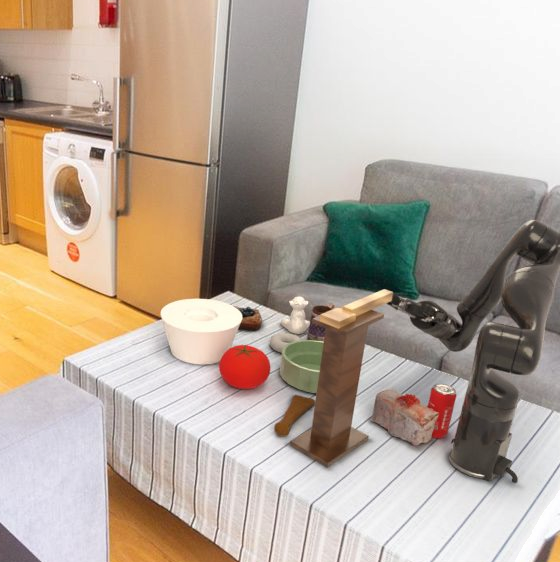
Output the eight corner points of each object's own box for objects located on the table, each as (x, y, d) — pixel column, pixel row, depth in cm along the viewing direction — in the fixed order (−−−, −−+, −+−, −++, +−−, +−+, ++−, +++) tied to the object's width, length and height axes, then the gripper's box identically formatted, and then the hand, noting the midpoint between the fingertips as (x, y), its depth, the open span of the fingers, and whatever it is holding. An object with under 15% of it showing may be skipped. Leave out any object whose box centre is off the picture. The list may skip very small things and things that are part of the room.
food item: (438, 441, 136) (446, 405, 132) (417, 453, 132) (425, 416, 128) (386, 413, 147) (392, 378, 143) (365, 423, 143) (371, 388, 139)
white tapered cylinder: (143, 349, 178) (143, 313, 174) (196, 326, 193) (197, 292, 189) (203, 379, 162) (205, 340, 157) (255, 351, 177) (259, 315, 172)
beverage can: (445, 442, 136) (456, 397, 131) (420, 434, 138) (430, 391, 134) (447, 430, 140) (458, 387, 135) (423, 424, 142) (433, 381, 138)
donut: (296, 359, 173) (307, 345, 180) (298, 349, 171) (308, 335, 179) (264, 350, 178) (275, 337, 185) (265, 340, 176) (276, 328, 184)
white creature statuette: (309, 325, 194) (314, 291, 190) (313, 336, 186) (317, 302, 182) (280, 323, 195) (283, 290, 191) (282, 334, 187) (286, 300, 183)
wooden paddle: (377, 296, 134) (379, 287, 133) (396, 302, 130) (398, 293, 130) (319, 321, 121) (320, 311, 120) (338, 328, 118) (339, 318, 117)
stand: (368, 440, 136) (391, 314, 124) (327, 467, 127) (347, 335, 115) (331, 420, 144) (349, 300, 132) (289, 445, 135) (305, 318, 123)
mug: (322, 351, 177) (327, 314, 173) (301, 343, 182) (306, 307, 178) (339, 340, 184) (344, 305, 179) (319, 333, 188) (323, 298, 184)
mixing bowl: (363, 380, 161) (367, 358, 158) (322, 403, 151) (326, 379, 148) (306, 355, 175) (309, 334, 172) (265, 374, 164) (268, 352, 162)
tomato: (244, 366, 168) (246, 333, 165) (278, 385, 159) (282, 351, 155) (207, 381, 161) (209, 347, 157) (241, 402, 151) (244, 366, 147)
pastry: (226, 315, 202) (227, 299, 200) (262, 318, 199) (263, 302, 197) (223, 328, 192) (224, 312, 190) (260, 332, 189) (262, 316, 187)
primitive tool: (294, 396, 154) (296, 384, 152) (315, 402, 151) (317, 390, 150) (272, 434, 138) (273, 422, 137) (295, 441, 136) (297, 429, 134)
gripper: (410, 296, 155) (386, 279, 144) (465, 314, 145) (444, 297, 134) (398, 322, 156) (373, 307, 145) (453, 342, 145) (431, 327, 134)
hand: (408, 302), depth 139 cm, fingers open, 8 cm apart
